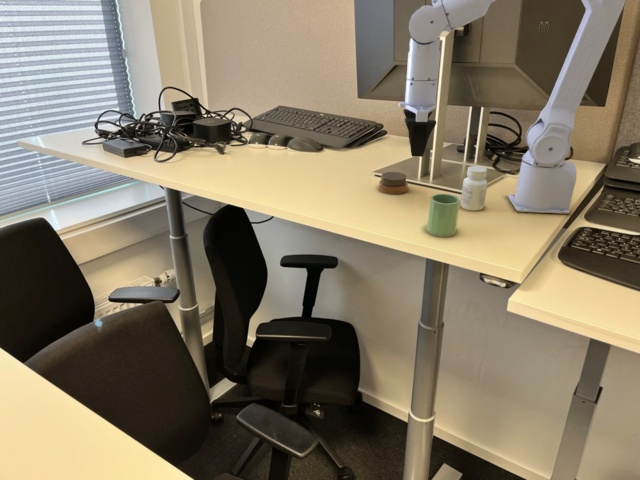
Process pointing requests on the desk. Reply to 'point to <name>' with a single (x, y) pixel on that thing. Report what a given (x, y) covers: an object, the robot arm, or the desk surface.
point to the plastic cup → (443, 215)
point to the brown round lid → (393, 179)
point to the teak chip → (393, 189)
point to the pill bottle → (474, 189)
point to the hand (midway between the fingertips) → (416, 150)
